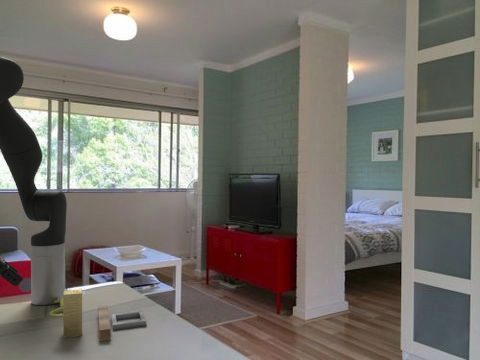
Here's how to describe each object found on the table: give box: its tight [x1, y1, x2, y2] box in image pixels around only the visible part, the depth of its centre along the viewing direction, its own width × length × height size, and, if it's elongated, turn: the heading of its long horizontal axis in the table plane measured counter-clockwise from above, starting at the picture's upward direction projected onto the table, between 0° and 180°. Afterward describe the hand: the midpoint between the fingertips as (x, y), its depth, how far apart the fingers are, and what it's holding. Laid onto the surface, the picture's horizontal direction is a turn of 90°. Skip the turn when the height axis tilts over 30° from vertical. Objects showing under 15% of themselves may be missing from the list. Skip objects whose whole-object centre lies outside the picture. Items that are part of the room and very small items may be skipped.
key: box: [49, 298, 63, 318], centre depth 113 cm, size 7×12×2 cm, turn 46°
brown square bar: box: [97, 305, 112, 342], centre depth 101 cm, size 18×2×2 cm, turn 20°
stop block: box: [62, 288, 83, 339], centre depth 96 cm, size 4×4×10 cm
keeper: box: [110, 310, 147, 331], centre depth 104 cm, size 8×8×1 cm
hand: (17, 278), depth 89 cm, fingers open, 8 cm apart
